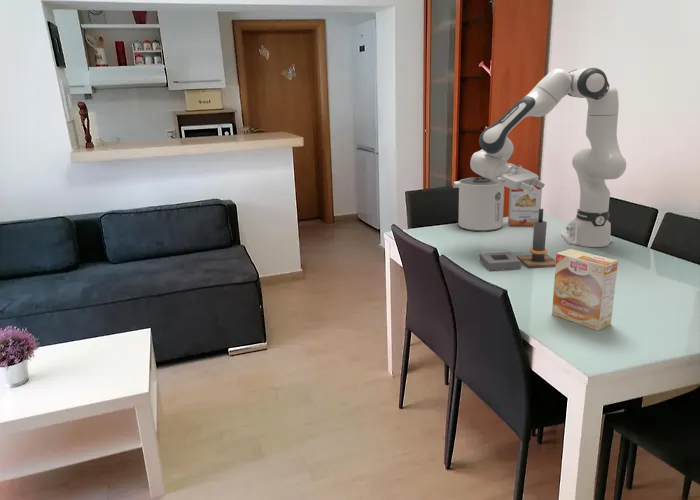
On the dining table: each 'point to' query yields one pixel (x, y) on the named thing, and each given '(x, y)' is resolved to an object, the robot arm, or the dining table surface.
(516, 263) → the socket block
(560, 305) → the coffeecake box
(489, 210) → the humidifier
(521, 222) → the cracker box
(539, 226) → the plug
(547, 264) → the pad
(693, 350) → the dining table surface
